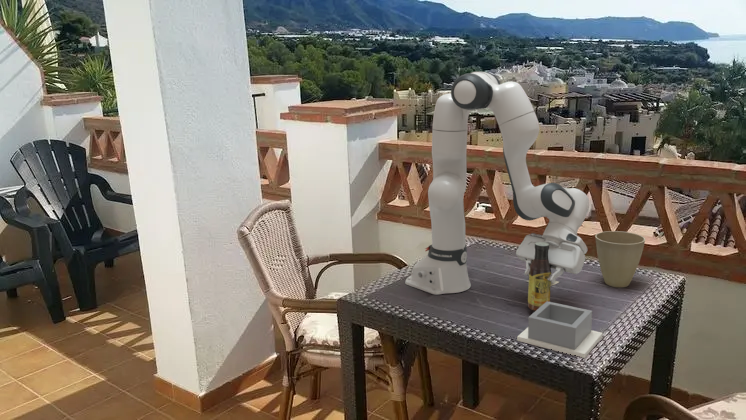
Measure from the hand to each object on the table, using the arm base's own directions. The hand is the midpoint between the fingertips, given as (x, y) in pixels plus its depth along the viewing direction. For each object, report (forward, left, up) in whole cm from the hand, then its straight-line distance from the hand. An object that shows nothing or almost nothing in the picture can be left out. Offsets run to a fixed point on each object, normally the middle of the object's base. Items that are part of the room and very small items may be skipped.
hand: (538, 278), depth 170 cm
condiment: (-9, +25, -11) cm, 29 cm away
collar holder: (+11, -12, -11) cm, 20 cm away
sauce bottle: (0, +1, -10) cm, 10 cm away
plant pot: (+12, +36, -11) cm, 39 cm away
